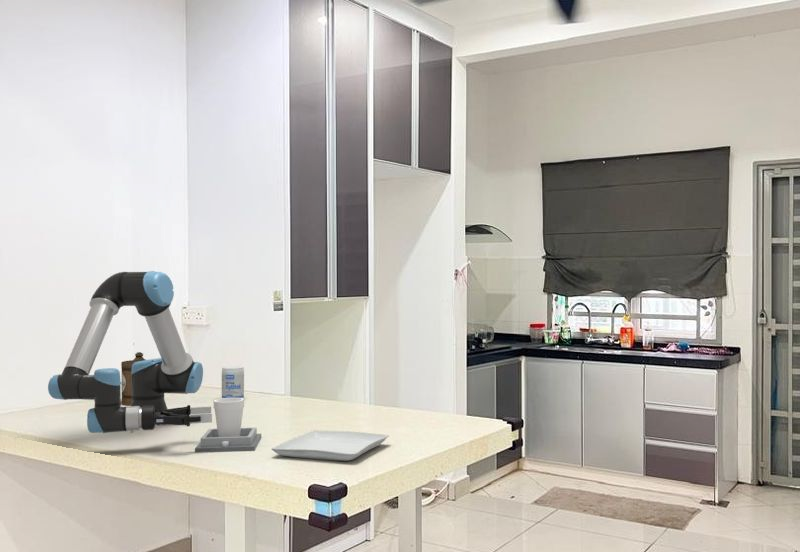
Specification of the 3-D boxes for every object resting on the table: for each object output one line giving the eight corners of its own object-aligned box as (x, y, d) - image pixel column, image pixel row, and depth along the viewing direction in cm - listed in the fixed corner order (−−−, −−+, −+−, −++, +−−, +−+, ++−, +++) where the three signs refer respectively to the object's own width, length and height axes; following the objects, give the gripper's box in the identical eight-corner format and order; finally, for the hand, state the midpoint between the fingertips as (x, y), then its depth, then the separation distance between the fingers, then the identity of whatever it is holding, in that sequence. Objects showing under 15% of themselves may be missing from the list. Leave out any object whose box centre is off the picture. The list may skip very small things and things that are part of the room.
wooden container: (129, 400, 337) (129, 350, 337) (162, 400, 337) (162, 350, 337) (115, 405, 322) (115, 354, 322) (150, 405, 322) (149, 353, 322)
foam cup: (249, 438, 246) (248, 398, 246) (236, 444, 237) (235, 402, 237) (222, 437, 248) (222, 397, 248) (208, 443, 239) (208, 401, 239)
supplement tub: (225, 403, 326) (225, 368, 326) (218, 400, 334) (218, 366, 334) (247, 400, 331) (246, 367, 331) (240, 398, 339) (239, 365, 339)
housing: (206, 438, 252) (206, 427, 252) (261, 437, 253) (261, 426, 253) (194, 452, 232) (194, 440, 232) (254, 450, 233) (254, 438, 233)
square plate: (313, 440, 249) (313, 428, 249) (390, 446, 239) (390, 433, 239) (270, 459, 223) (270, 446, 223) (354, 466, 213) (354, 452, 213)
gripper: (144, 423, 248) (211, 419, 253) (138, 438, 224) (212, 433, 229) (143, 400, 248) (210, 396, 253) (138, 412, 224) (212, 408, 229)
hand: (211, 414), depth 241 cm, fingers open, 13 cm apart
